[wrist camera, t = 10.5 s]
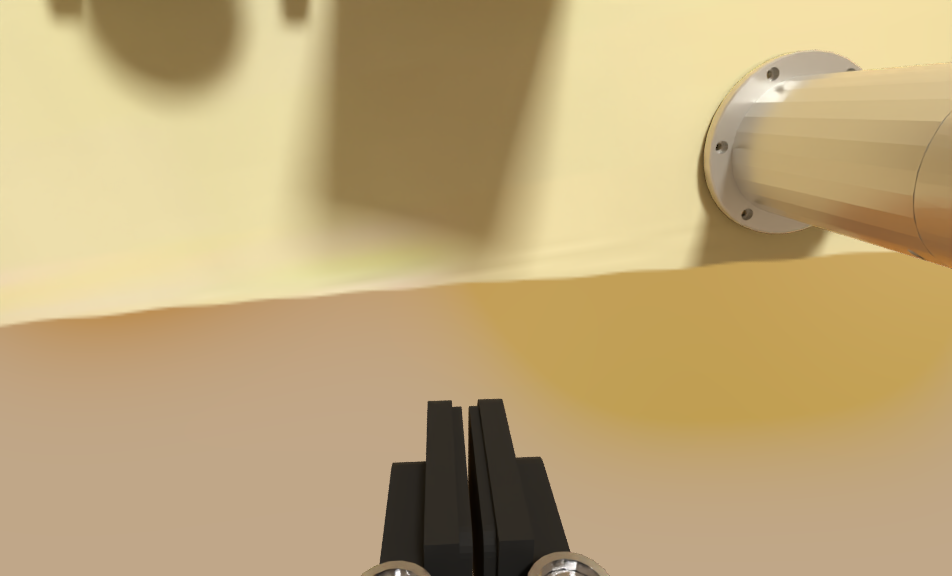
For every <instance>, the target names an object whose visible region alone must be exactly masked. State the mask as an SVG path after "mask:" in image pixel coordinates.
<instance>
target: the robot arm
mask: <svg viewBox="0 0 952 576" xmlns="http://www.w3.org/2000/svg"><path fill="white" fill-rule="evenodd" d="M767 73H768V76H767ZM717 144H718V148H717V149H716V146H717ZM704 172H705V178H706V183H707V186H708V188H709V191H710V193H711V196H712V198H713V200H714V201H715V203H716V204H717V206H718V207H719V208H720V210H721V211H722V212H723V213H724V214H726V215H727V216H728V217H729V218H730V219H731V220H733V221H735V222H736V223H738V224H740V225H742V226H744V227H746V228H749V229H752V230H754V231H758V232H763V233H768V234H786V233H791V232H796V231H801V230H803V229H806V228H808V227H811V226H815V227H818V228H822V229H825V230H828V231H831V232H835V233H838V234H841V235H844V236H848V237H851V238H854V239H857V240H860V241H864V242H867V243H870V244H873V245H877V246H880V247H883V248H886V249H890V250H893V251H896V252H900V253H903V254H906V255H909V256H912V257H916V258H919V259H922V260H925V261H929V262H932V263H935V264H938V265H942V266H945V267H948V268H951V269H952V62H947V63H936V64H925V65H914V66H903V67H892V68H881V69H870V70H862V68H861V67H860V66H858V65H857V64H856V63H854V62H853V61H851V60H850V59H849V58H847V57H844V56H842V55H839V54H837V53H834V52H830V51H822V50H808V51H798V52H793V53H788V54H783V55H780V56H778V57H776V58H773V59H771V60H768V61H766V62H764V63H763V64H761V65H759V66H758V67H756V68H755V69H753V70H752V71H750V72H749V73H748V74H747V75H745V76H744V77H743V78H742V79H741V80H740V81H739V82H738V83H737V84H735V86H734V87H733V88H732V89H731V91H730V92H729V93H728V94H727V96H726V97H725V98H724V99H723V101H722V103H721V105H720V106H719V108H718V110H717V112H716V113H715V115H714V117H713V120H712V123H711V125H710V128H709V131H708V133H707V138H706V143H705V149H704ZM742 212H743V213H742ZM427 411H428V412H427V445H426V447H427V448H426V461H424V462H402V463H401V462H400V463H393V464H392V468H391V477H390V484H389V492H388V500H387V508H386V517H385V525H384V533H383V541H382V549H381V557H380V564H379V565H376V566H374V567H373V568H371V569H369V570H368V571H366V572H364V573H363V574H362V575H361V576H609V574H608V573H607V572H606V570H605V569H604V568H602V567H601V566H600V565H599V564H598V563H596V562H595V561H594V560H592V559H590V558H588V557H586V556H583V555H581V554H577V553H572V552H570V549H569V546H568V543H567V539H566V536H565V533H564V530H563V526H562V523H561V520H560V516H559V513H558V510H557V506H556V503H555V500H554V497H553V493H552V490H551V487H550V483H549V480H548V477H547V473H546V470H545V467H544V464H543V461H542V459H541V457H522V458H516V457H515V453H514V448H513V444H512V439H511V435H510V431H509V426H508V422H507V418H506V413H505V409H504V405H503V401H502V399H480V400H478V404H477V406H469V421H468V422H469V423H468V424H469V425H468V426H469V428H468V430H469V431H468V436H469V439H468V478H467V467H466V455H465V444H464V431H463V420H462V409H461V407H452V401H451V400H448V401H428V410H427Z"/></svg>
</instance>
